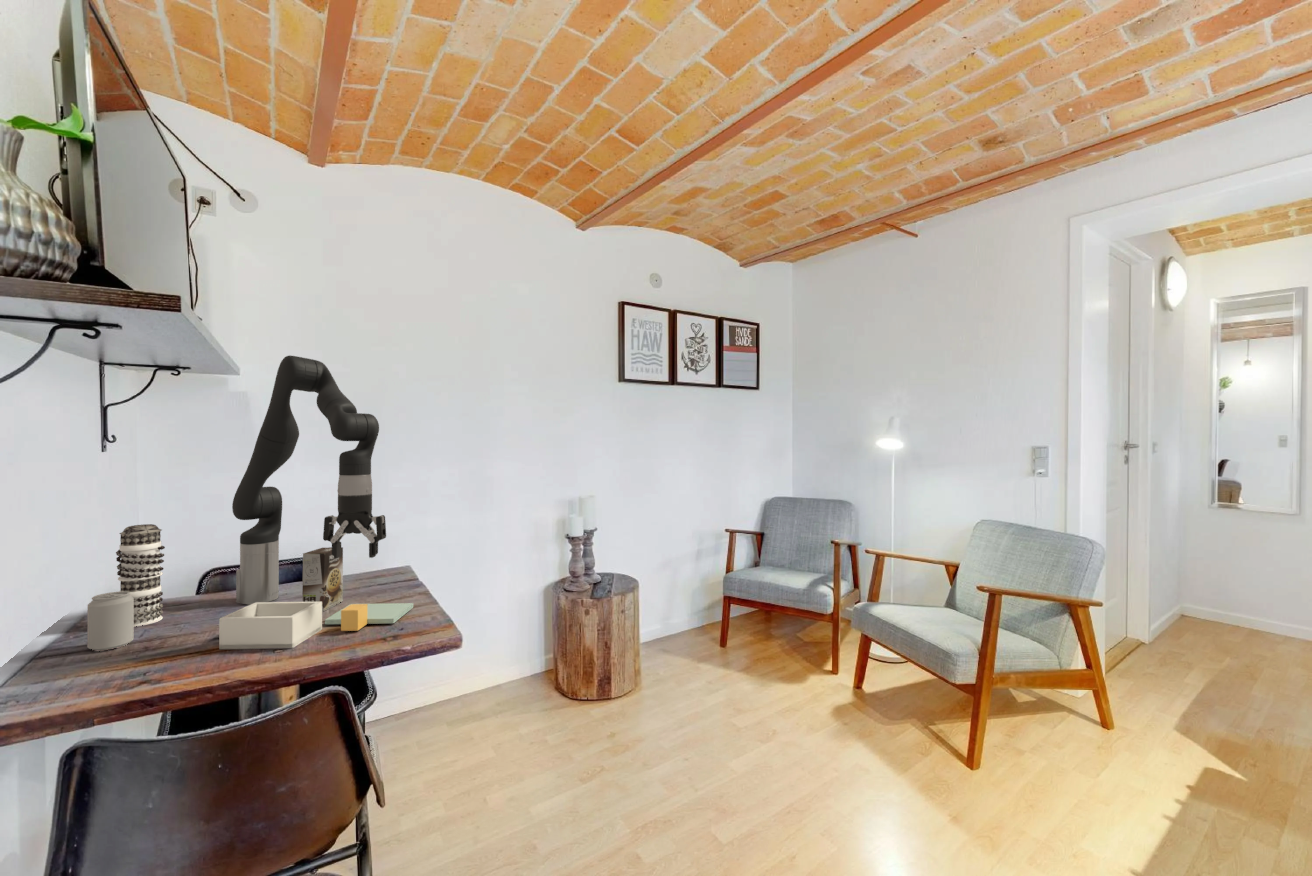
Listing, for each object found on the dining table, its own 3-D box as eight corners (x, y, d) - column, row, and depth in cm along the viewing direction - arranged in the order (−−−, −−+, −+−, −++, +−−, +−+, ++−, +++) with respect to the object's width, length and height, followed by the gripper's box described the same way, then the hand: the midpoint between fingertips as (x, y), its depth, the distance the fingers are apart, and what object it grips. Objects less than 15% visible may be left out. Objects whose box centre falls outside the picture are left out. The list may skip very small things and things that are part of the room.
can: (104, 654, 120) (104, 600, 120) (78, 651, 121) (78, 598, 121) (142, 641, 127) (142, 590, 127) (117, 639, 129) (117, 588, 129)
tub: (219, 649, 123) (219, 618, 123) (255, 630, 135) (255, 602, 135) (292, 648, 124) (292, 617, 124) (322, 629, 136) (322, 601, 136)
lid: (313, 634, 133) (313, 610, 133) (350, 611, 151) (350, 590, 151) (384, 633, 134) (385, 610, 134) (413, 610, 152) (413, 589, 152)
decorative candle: (141, 615, 146) (141, 522, 146) (174, 616, 145) (174, 523, 145) (105, 627, 136) (105, 528, 136) (140, 628, 136) (140, 528, 136)
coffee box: (324, 611, 149) (324, 553, 149) (301, 611, 149) (301, 553, 149) (343, 601, 159) (344, 546, 158) (322, 601, 159) (322, 546, 159)
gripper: (390, 491, 140) (390, 554, 140) (334, 491, 139) (333, 554, 139) (377, 494, 133) (377, 560, 133) (317, 494, 132) (317, 561, 132)
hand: (354, 557), depth 136 cm, fingers open, 8 cm apart
